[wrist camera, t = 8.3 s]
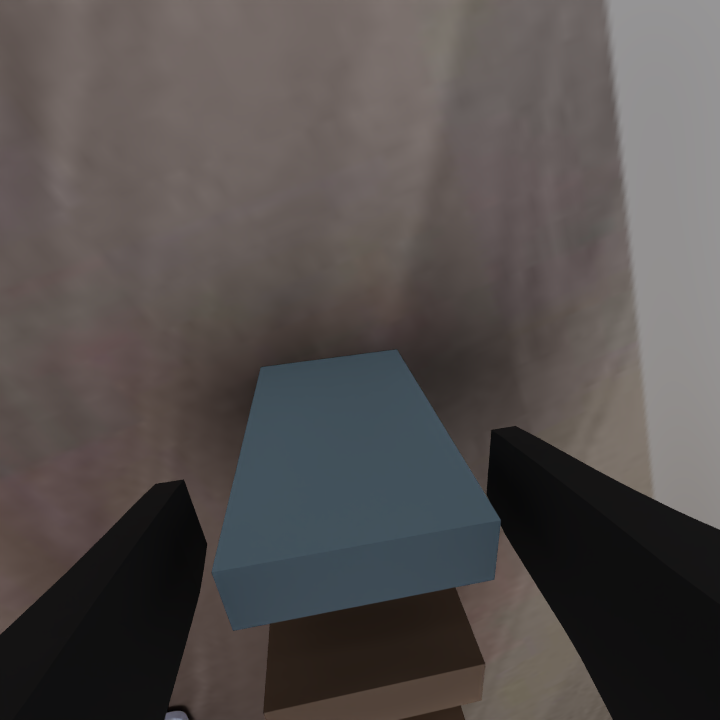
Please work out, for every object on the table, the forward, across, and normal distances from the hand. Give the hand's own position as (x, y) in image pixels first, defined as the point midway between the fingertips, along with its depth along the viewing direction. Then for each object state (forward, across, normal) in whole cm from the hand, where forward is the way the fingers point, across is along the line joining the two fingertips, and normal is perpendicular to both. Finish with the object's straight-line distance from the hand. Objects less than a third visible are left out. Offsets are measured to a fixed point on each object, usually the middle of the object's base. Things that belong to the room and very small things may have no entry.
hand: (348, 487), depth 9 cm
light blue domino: (+6, 0, 0) cm, 6 cm away
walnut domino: (+6, 0, +4) cm, 7 cm away
